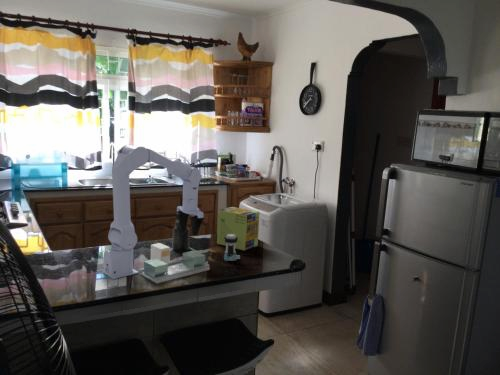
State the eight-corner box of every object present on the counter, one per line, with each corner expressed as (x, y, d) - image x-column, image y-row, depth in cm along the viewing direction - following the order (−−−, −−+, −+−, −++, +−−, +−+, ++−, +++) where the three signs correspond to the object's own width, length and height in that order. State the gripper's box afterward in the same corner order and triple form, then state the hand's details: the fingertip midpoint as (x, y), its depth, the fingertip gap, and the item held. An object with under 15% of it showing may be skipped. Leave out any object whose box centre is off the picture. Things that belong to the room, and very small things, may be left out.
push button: (238, 257, 167) (239, 233, 166) (241, 261, 162) (242, 236, 161) (222, 258, 166) (223, 233, 164) (224, 262, 160) (225, 237, 159)
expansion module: (161, 265, 154) (161, 249, 153) (150, 259, 159) (150, 244, 159) (170, 262, 157) (170, 247, 156) (159, 257, 162) (159, 242, 161)
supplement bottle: (182, 245, 179) (183, 218, 177) (192, 249, 174) (193, 221, 172) (169, 248, 175) (169, 220, 173) (178, 252, 170) (178, 223, 168)
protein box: (245, 251, 176) (247, 215, 174) (216, 243, 185) (217, 209, 182) (258, 245, 185) (260, 211, 183) (230, 239, 193) (231, 206, 191)
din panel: (156, 283, 136) (157, 269, 136) (139, 274, 144) (139, 260, 143) (209, 269, 152) (209, 256, 151) (191, 261, 159) (191, 249, 159)
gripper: (210, 200, 158) (208, 235, 160) (187, 194, 168) (186, 227, 170) (195, 202, 153) (194, 238, 155) (172, 195, 163) (172, 229, 165)
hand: (189, 232), depth 162 cm, fingers open, 7 cm apart
